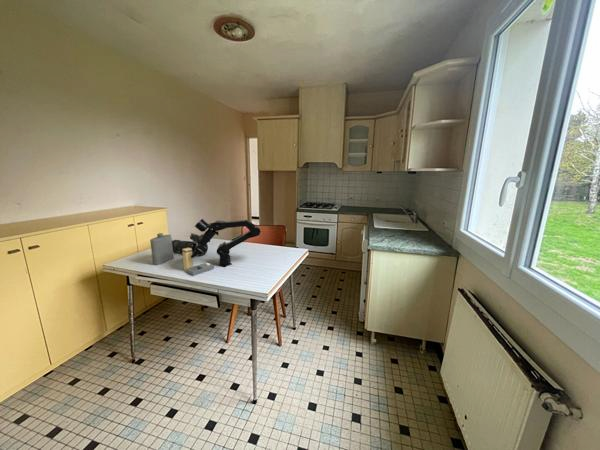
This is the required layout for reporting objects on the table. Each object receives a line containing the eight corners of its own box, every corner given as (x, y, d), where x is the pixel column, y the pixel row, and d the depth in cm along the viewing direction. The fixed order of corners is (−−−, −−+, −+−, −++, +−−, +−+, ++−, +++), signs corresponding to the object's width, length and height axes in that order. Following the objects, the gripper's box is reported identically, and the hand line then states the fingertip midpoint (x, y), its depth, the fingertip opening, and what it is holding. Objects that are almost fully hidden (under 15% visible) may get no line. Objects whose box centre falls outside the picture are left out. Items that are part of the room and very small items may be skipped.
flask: (168, 257, 168) (166, 230, 164) (175, 258, 167) (172, 231, 163) (150, 264, 154) (146, 235, 150) (157, 265, 153) (153, 236, 149)
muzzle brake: (201, 257, 169) (200, 244, 167) (168, 254, 175) (166, 241, 173) (208, 253, 178) (207, 240, 176) (177, 250, 184) (175, 238, 182)
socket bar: (207, 265, 154) (206, 261, 154) (214, 268, 150) (213, 264, 149) (186, 272, 143) (186, 267, 143) (193, 275, 139) (192, 271, 138)
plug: (190, 267, 150) (188, 247, 147) (193, 269, 148) (191, 248, 145) (184, 269, 147) (182, 249, 144) (187, 271, 145) (185, 250, 142)
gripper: (195, 226, 153) (178, 244, 150) (199, 232, 138) (180, 252, 134) (208, 236, 159) (192, 253, 156) (214, 242, 144) (196, 262, 140)
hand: (190, 255), depth 146 cm, fingers open, 9 cm apart
